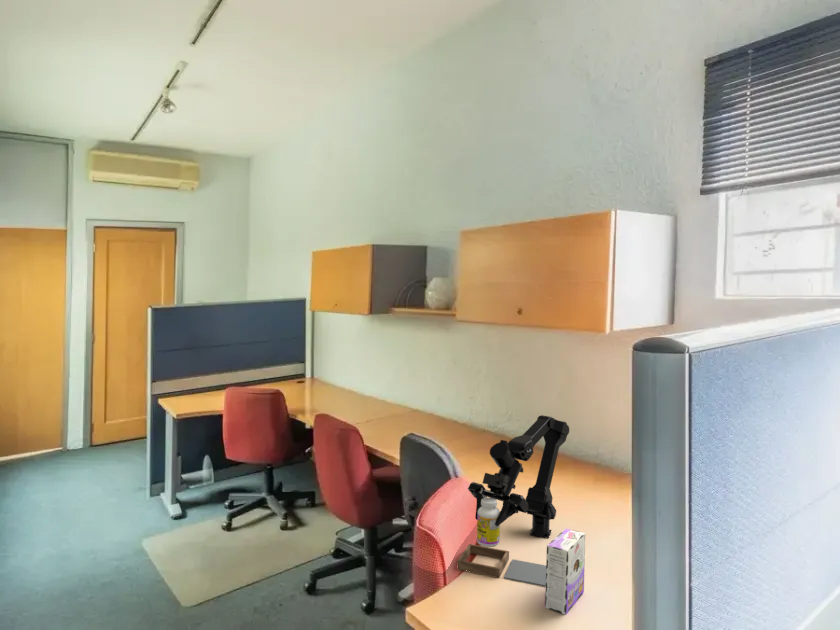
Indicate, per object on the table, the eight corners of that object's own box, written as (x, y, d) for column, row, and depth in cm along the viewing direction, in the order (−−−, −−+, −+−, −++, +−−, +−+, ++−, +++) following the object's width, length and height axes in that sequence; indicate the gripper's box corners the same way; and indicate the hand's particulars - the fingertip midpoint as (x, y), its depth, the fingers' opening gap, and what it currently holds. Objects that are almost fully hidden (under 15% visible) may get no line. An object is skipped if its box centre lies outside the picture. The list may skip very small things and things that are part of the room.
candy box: (563, 586, 154) (565, 527, 154) (584, 593, 151) (586, 532, 150) (544, 607, 143) (545, 544, 142) (566, 615, 139) (568, 550, 139)
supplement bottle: (472, 540, 167) (473, 497, 167) (492, 536, 170) (493, 495, 170) (483, 549, 161) (484, 505, 161) (503, 546, 164) (504, 502, 163)
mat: (512, 560, 169) (512, 559, 169) (552, 568, 165) (552, 566, 165) (503, 578, 158) (503, 576, 158) (546, 587, 153) (546, 585, 153)
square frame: (469, 551, 174) (469, 543, 174) (508, 559, 170) (509, 551, 170) (456, 569, 163) (456, 560, 163) (499, 577, 158) (499, 569, 158)
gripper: (471, 456, 174) (449, 500, 166) (524, 468, 162) (502, 517, 154) (485, 475, 180) (464, 519, 172) (537, 488, 168) (517, 536, 160)
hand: (486, 522), depth 164 cm, fingers closed on supplement bottle, 7 cm apart
